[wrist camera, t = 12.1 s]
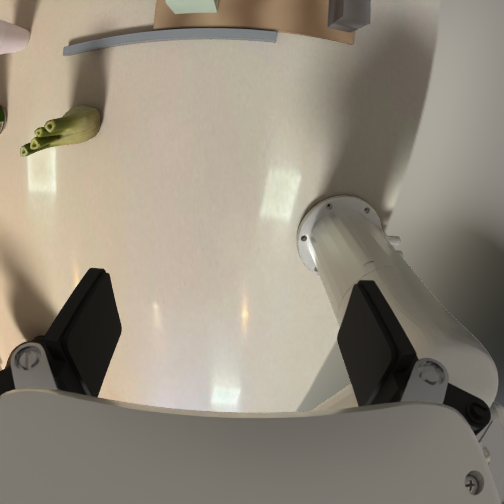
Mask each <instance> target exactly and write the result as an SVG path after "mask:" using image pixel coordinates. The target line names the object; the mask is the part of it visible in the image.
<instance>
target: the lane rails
mask: <svg viewBox="0 0 504 504" xmlns="http://www.w3.org/2000/svg"><path fill="white" fill-rule="evenodd" d="M276 36H277V32H274V31H263V30H250V29H229V28H193V29H172V30H159V31H149V32H140V33H132V34H125V35H119V36H113V37H107V38H102V39H96V40H92V41H87V42H83V43H78V44H74V45H70V46H66V47H64V50H63V55H64V56H69V55H73V54H78V53H82V52H87V51H92V50H97V49H102V48H108V47H114V46H121V45H128V44H136V43H145V42H155V41H168V40H188V39H231V40H251V41H264V42H274V43H275V42H276Z"/></svg>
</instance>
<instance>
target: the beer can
mask: <svg viewBox="0 0 504 504" xmlns="http://www.w3.org/2000/svg"><path fill="white" fill-rule="evenodd" d="M6 121H7V116H6V111H5V109H4V108H3V107H2V106H0V134H1V133H2V131H3V130H4V128H5V125H6Z"/></svg>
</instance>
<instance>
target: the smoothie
mask: <svg viewBox="0 0 504 504" xmlns="http://www.w3.org/2000/svg"><path fill="white" fill-rule="evenodd" d="M29 39H30V33H29V31H28V30H27V29H24V28H22V27H19V26H16V25H14V24H11V23H8V22H5V21H3V20H0V54H6V53H13V52H19V51H22V50H23V49H24V48H25V47H26V45H27V44H28V42H29Z"/></svg>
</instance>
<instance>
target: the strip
mask: <svg viewBox="0 0 504 504" xmlns="http://www.w3.org/2000/svg"><path fill="white" fill-rule="evenodd" d="M165 2H166V0H157V2H156V10H155V18H154V27H153V30H154V31H157V30H170V29H188V28H234V29H253V30H265V31H275V32H284V33H292V34H299V35H306V36H312V37H318V38H323V39H328V40H333V41H338V42H343V43H347V44H351V45H353V44H354V34H355V30H357V29H359V28H361V27H363V26H365V25H367V24H369V23H370V2H371V0H218V10H217V13H183V14H175V13H174V12H173V11H172V10H171V9H170V7H169V6H168V5H167V4H166V3H165Z"/></svg>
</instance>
